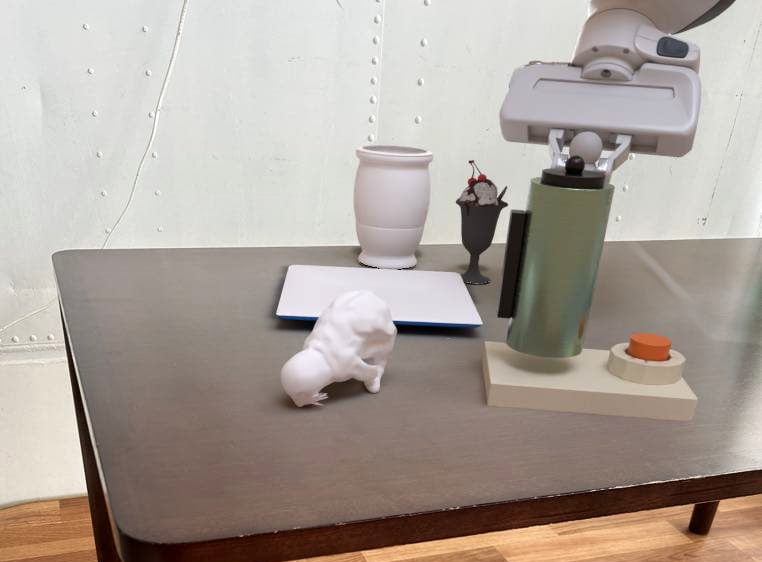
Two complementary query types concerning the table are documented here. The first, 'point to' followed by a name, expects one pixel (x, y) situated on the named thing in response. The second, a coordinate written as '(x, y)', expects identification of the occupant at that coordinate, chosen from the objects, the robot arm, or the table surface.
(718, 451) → the table surface
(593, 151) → the chess piece
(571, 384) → the kettle base
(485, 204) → the sundae
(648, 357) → the kettle switch
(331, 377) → the white hunched creature figure
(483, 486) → the table surface
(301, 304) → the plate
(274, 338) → the table surface
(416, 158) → the jar
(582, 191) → the kettle
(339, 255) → the table surface
